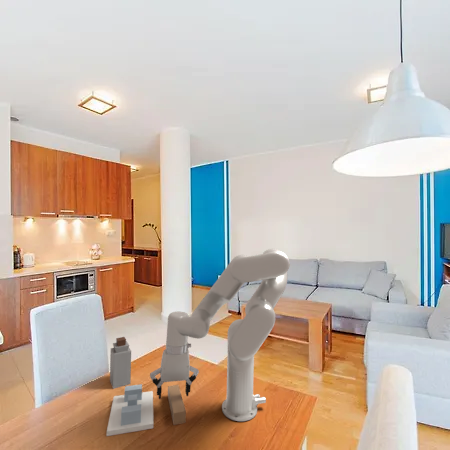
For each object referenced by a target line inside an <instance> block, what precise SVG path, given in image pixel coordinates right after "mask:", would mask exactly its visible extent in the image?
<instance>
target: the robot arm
mask: <svg viewBox="0 0 450 450" xmlns="http://www.w3.org/2000/svg"><path fill="white" fill-rule="evenodd" d="M290 265H291V263H290V259H289V257H288V255H287V254H286V253H284V252H283V251H281V250H279V249H277V248H268V249H266V250H264V252H263V253H261V254H256V255H250V256H247V255H244V254H238V255H236V256H234V257H233V259H231V260H230V262H229V263H228V264H227V266H226V267H225V268H224V270H223V272H222V273H221V275H220V276H219V277H218V278H217V280H216V281H215V282H214V283H213V285H212V286H211V288H210V289H209V291H207V293H206V294H205V295H204V297H203V298H202V300H201V301H200V303H199V304H198V305H197V306H196V308H195V309H194V311H192V314H191V315H190V316H189V315H188V313H187V312H185V311H177V310H176V311H173V312H170V313H169V314H168V317H167V323H166V324H167V326H166V343H165V349H164V350H163V351H162V356H161V362H160V367H159V368H157V369H155V370H154V371H152V372H150V373H149V378H150V379H151V382H152V384H154V385H155V386H156V396H158V400H161V399H162V387H163V386H162V385H163V384H164V383H169V382H171V383H172V382H181V381H185V396H186V397H189V393H191V386H192V383H193V382H194V381H195V380H196V379H197V377H198V375H199V373H200V372H199V371H200V370H199V369H198V368H196V367H194V366H192V365H190V351H189V348H191V347H192V343H189V342H188V339H189V338H191V339H203V338H205V337H207V335H208V333H209V331H210V326H211V321H212V320H213V318H214V317H215V316H216V314H217V313H218V312H219V310H221V308H222V307H223V306H225V305H226V304H229V303H231V301H232V300H233V299H234V298H235V297H236V295H237V294H238V293H239V291H240V289H241V288H242V287H243V286H244V284H245V283H253V282H259V281H261V282H260V284H259V285H258V286H257V288H256V289H255V292H254V293H253V294H252V296H251V297H250V299H249V300H248V302H247V303H246V304H245V308H244V310H245V311H244V312H245V316H244V318H243V319H241V318H239V319H235V320H234V321H232V323H230V325H229V327H228V329H227V361H226V363H227V365H226V367H227V369H226V398H225V400H224V401H223V402H222V405H221V410H222V413H223V415H224V416H225V417H226V418H228V419H229V420H232V421H237V422H246V421H250V420H252V419H254V418H255V417H256V416H257V414H258V405H261V404H266V402H267V399H266V396H261V395H260V394H259V393H256V394H254V373H255V371H254V368H255V355H256V354H257V352H258V351H259V350H260V348H261V347H262V345H263V343H264V342H265V341H266V339H267V338H268V336H269V335H270V333H271V332H272V330H273V329H274V326H275V323H276V312H275V310H274V309H275V308H276V305H277V303H278V302H279V301H280V299H281V297H282V296H283V294H284V291H285V290H286V288H287V284H288V271H289V269H290ZM190 372H192V375H190ZM157 375H160V377H159V378H156V376H157Z"/></svg>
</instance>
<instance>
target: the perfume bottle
mask: <svg viewBox="0 0 450 450" xmlns="http://www.w3.org/2000/svg"><path fill="white" fill-rule="evenodd" d="M115 341H116V342H113V343H112V346H113V347H111V348H110V357H109V359H110V362H109V382H110V385H111V388H112V389H118V388H121V387H125V386H129V385H131V382H132V381H131V377H132V376H131V374H132V373H131V372H132V350H131V348H130V344H129V343H128V341H127V339H126V337H125V336H122V337H121V336H120V337H117V338H116V339H115Z"/></svg>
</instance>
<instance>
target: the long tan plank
mask: <svg viewBox="0 0 450 450" xmlns="http://www.w3.org/2000/svg"><path fill="white" fill-rule="evenodd" d="M167 399H168V403H169V410H170V415H171V420H172V424H173V426H177V425H180V424H185V423H186V422H187V421H186V419H187V418H186V417H187V411H186V407H185V402H184V400H183V396H182V393H181V388H180V385H179V384H173V385H169V386H167Z"/></svg>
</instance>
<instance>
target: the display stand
mask: <svg viewBox="0 0 450 450" xmlns="http://www.w3.org/2000/svg"><path fill="white" fill-rule="evenodd" d="M150 429H154V392H153V390H151V391H143V384H141V383H140V384H135V385H125V386H124V393H123V394H121V395H114V396H113V398H112V404H111V408H110V414H109V418H108V423H107V428H106V437H110V436H116V435H121V434H127V433H133V432H140V431H145V430H150Z"/></svg>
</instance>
